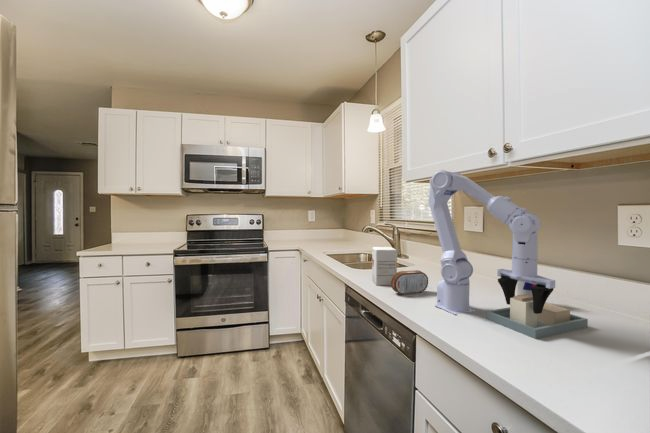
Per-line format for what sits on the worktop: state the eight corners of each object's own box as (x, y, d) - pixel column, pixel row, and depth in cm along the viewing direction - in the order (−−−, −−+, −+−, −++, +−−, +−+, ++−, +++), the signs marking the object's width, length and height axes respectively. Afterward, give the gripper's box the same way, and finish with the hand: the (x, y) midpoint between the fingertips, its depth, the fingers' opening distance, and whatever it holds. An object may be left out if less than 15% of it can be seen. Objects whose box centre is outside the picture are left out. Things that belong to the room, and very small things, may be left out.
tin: (424, 290, 117) (424, 269, 117) (429, 292, 114) (429, 270, 114) (390, 293, 113) (390, 271, 112) (394, 296, 110) (395, 273, 109)
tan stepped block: (525, 316, 87) (525, 303, 87) (539, 314, 89) (540, 301, 89) (555, 327, 79) (555, 312, 79) (569, 324, 81) (570, 309, 81)
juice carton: (509, 323, 82) (510, 295, 82) (521, 321, 84) (521, 293, 83) (525, 329, 78) (525, 299, 78) (537, 327, 80) (537, 297, 79)
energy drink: (538, 308, 96) (539, 270, 96) (519, 306, 98) (519, 269, 98) (533, 303, 101) (534, 267, 101) (515, 301, 103) (516, 266, 103)
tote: (485, 320, 86) (486, 311, 85) (534, 312, 92) (534, 303, 92) (535, 341, 72) (535, 329, 72) (587, 329, 79) (587, 319, 79)
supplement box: (371, 280, 133) (371, 246, 133) (391, 280, 134) (391, 246, 133) (375, 285, 124) (375, 249, 124) (397, 285, 125) (397, 249, 124)
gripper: (490, 254, 86) (489, 301, 86) (542, 263, 72) (540, 319, 73) (507, 253, 88) (506, 299, 89) (561, 262, 75) (560, 316, 75)
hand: (523, 308), depth 81 cm, fingers open, 7 cm apart
